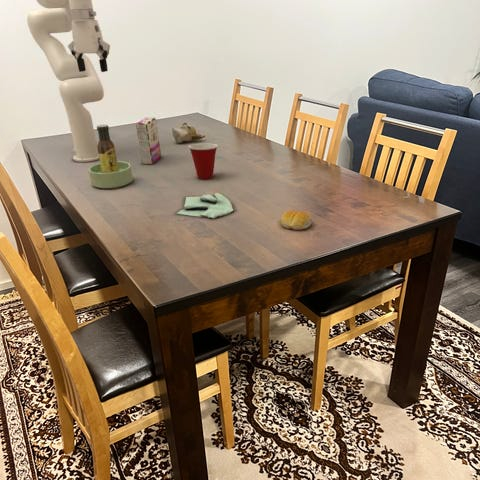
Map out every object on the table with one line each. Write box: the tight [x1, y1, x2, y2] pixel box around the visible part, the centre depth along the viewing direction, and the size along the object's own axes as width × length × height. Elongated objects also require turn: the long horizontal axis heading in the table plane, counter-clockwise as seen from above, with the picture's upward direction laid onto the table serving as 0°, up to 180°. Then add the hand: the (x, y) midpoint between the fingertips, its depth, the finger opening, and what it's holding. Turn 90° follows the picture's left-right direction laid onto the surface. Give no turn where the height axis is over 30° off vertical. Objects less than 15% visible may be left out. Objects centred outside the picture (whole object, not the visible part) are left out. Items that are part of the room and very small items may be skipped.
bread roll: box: [280, 210, 313, 231], centre depth 141 cm, size 8×9×4 cm
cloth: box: [176, 192, 235, 220], centre depth 158 cm, size 20×22×2 cm
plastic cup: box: [188, 142, 219, 180], centre depth 180 cm, size 11×11×12 cm
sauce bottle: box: [96, 124, 119, 173], centre depth 176 cm, size 6×6×20 cm
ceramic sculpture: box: [171, 122, 206, 144], centre depth 227 cm, size 11×9×15 cm
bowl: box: [88, 160, 134, 189], centre depth 180 cm, size 15×15×6 cm
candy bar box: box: [135, 116, 162, 165], centre depth 200 cm, size 11×5×16 cm, turn 168°
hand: (93, 71), depth 174 cm, fingers open, 9 cm apart
